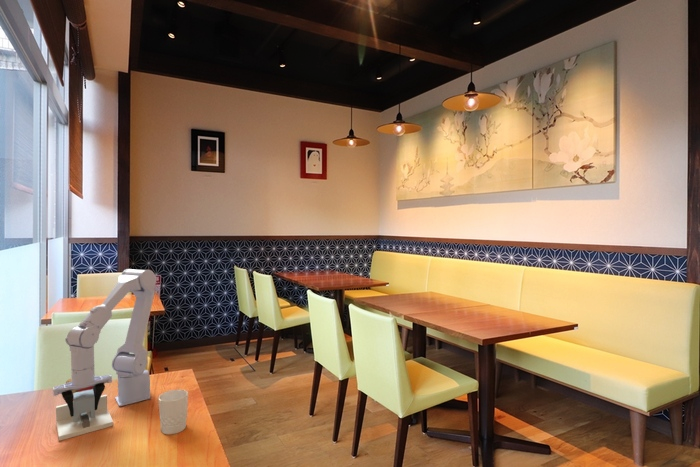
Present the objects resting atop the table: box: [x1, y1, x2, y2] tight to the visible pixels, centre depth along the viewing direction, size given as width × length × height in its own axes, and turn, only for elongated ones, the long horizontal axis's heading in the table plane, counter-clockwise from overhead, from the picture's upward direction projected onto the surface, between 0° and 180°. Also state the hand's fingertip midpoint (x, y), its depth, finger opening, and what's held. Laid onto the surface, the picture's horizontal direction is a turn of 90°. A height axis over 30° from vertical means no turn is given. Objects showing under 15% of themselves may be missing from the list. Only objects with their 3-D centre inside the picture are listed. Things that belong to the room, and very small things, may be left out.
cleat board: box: [55, 394, 114, 441], centre depth 119 cm, size 13×12×5 cm
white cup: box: [158, 388, 189, 435], centre depth 117 cm, size 8×8×10 cm
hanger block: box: [73, 389, 95, 422], centre depth 119 cm, size 5×7×6 cm
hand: (83, 411), depth 120 cm, fingers closed on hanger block, 5 cm apart
